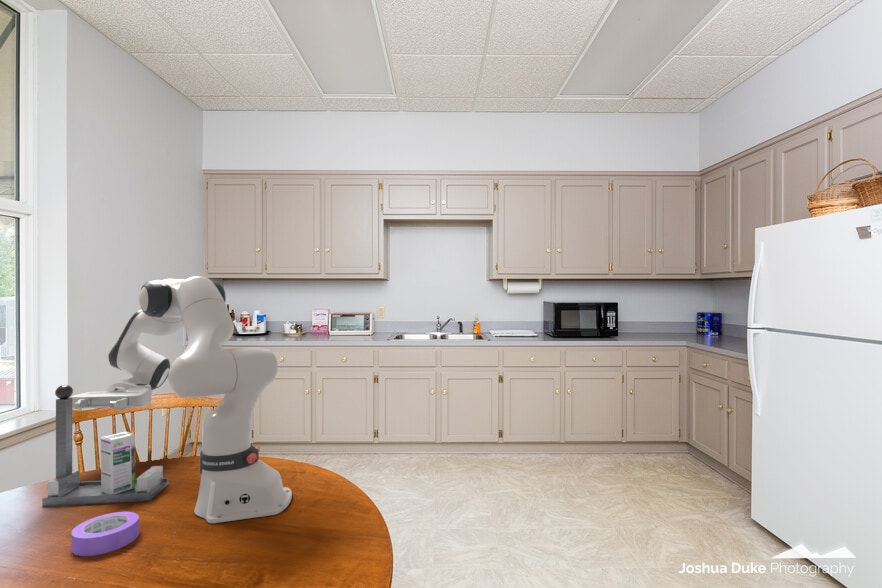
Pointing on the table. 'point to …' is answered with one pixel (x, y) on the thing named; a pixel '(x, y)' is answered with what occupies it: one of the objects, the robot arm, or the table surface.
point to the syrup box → (117, 463)
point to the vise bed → (91, 493)
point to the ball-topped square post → (64, 446)
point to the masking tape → (104, 533)
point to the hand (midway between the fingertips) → (94, 405)
